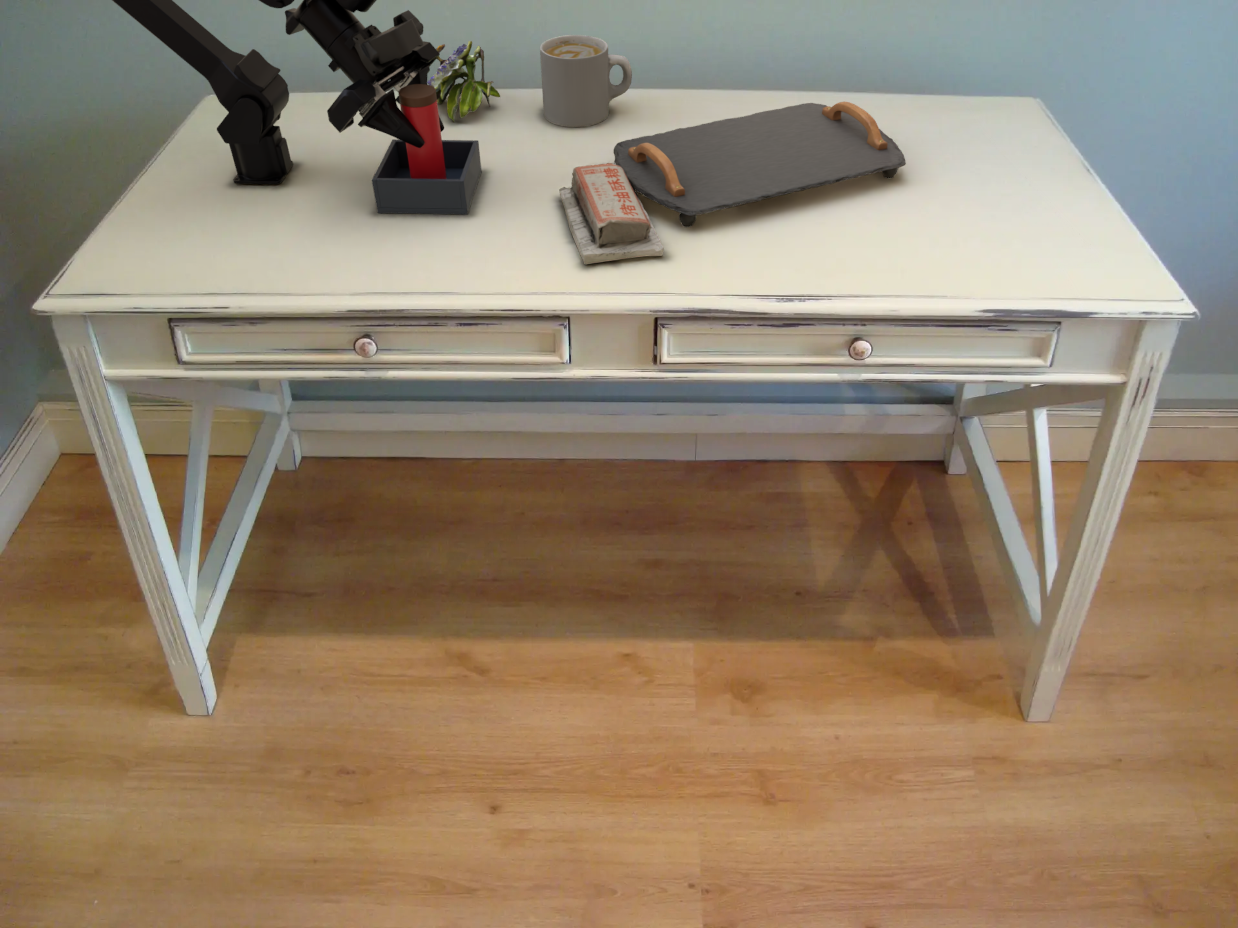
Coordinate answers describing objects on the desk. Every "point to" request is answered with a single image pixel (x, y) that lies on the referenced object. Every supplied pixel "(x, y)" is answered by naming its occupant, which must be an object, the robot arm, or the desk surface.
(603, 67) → the coffee mug
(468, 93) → the passion flower
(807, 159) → the serving tray
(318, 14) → the robot arm
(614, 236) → the packaged product
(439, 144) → the candy tube
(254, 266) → the desk surface
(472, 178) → the desk bin
